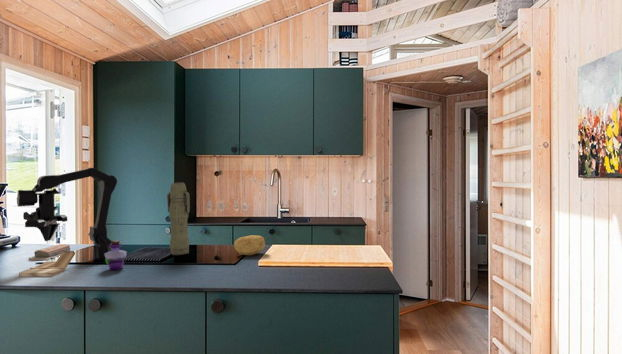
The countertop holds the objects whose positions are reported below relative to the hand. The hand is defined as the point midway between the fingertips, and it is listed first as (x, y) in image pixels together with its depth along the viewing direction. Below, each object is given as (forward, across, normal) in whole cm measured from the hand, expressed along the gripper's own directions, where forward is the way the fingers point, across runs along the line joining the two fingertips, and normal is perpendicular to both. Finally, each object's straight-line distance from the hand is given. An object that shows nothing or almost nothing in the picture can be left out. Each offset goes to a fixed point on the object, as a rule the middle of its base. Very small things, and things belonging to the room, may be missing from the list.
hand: (47, 240), depth 178 cm
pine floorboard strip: (+12, +10, +5) cm, 16 cm away
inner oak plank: (+9, +2, +9) cm, 12 cm away
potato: (+12, -25, +83) cm, 88 cm away
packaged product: (+12, -22, -14) cm, 29 cm away
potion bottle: (+12, +2, +31) cm, 33 cm away
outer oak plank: (+11, +2, 0) cm, 12 cm away
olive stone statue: (+12, -28, +47) cm, 56 cm away
